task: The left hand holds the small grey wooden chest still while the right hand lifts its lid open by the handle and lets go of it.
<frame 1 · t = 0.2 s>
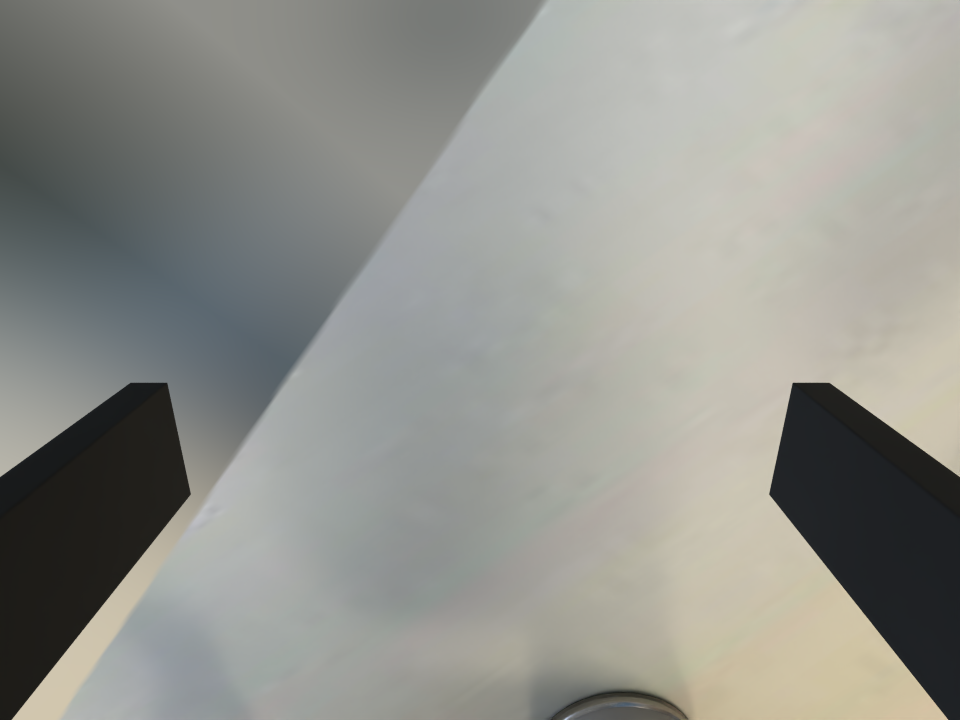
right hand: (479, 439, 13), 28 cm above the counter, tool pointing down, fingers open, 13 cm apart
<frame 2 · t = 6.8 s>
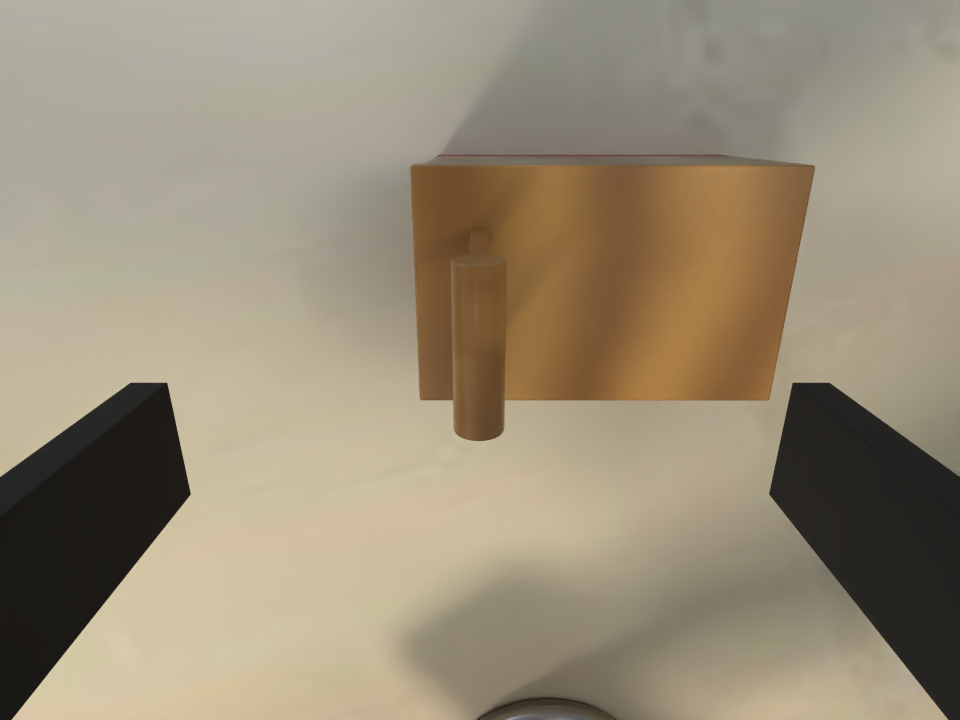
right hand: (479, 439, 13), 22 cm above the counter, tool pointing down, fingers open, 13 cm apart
lid: (621, 315, 21), point 13 cm above the counter, hinge at 0.0°
chest: (573, 247, 33), on the counter
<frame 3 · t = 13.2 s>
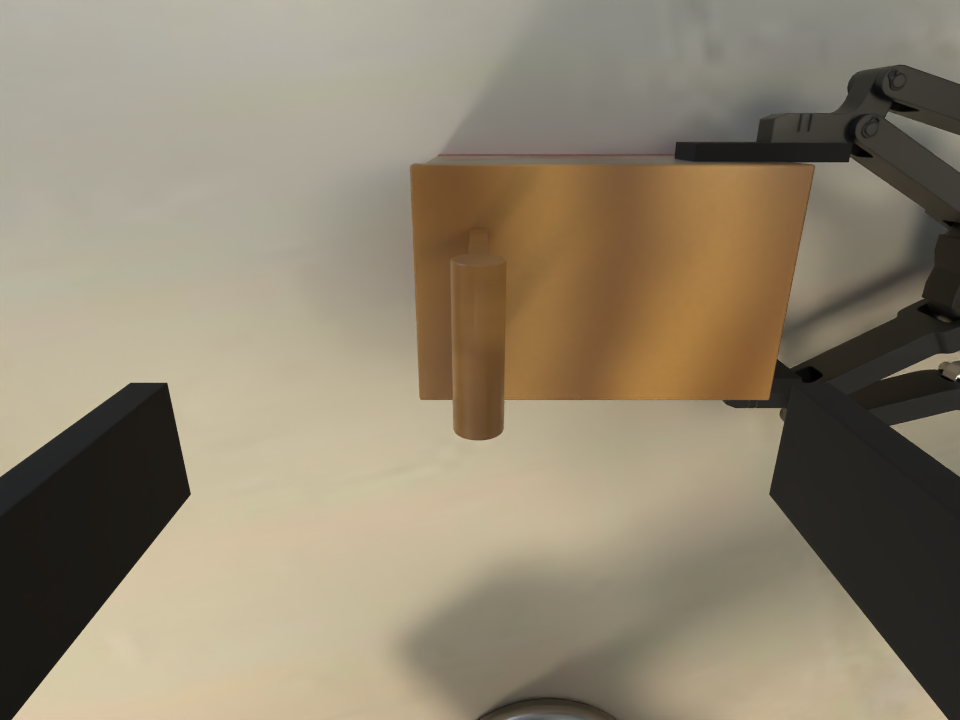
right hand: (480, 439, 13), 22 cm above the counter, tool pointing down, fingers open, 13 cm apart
left hand: (670, 271, 28), fingers closed on chest, 10 cm apart
lid: (621, 315, 21), point 13 cm above the counter, hinge at 0.0°
chest: (573, 247, 33), on the counter, touching left hand
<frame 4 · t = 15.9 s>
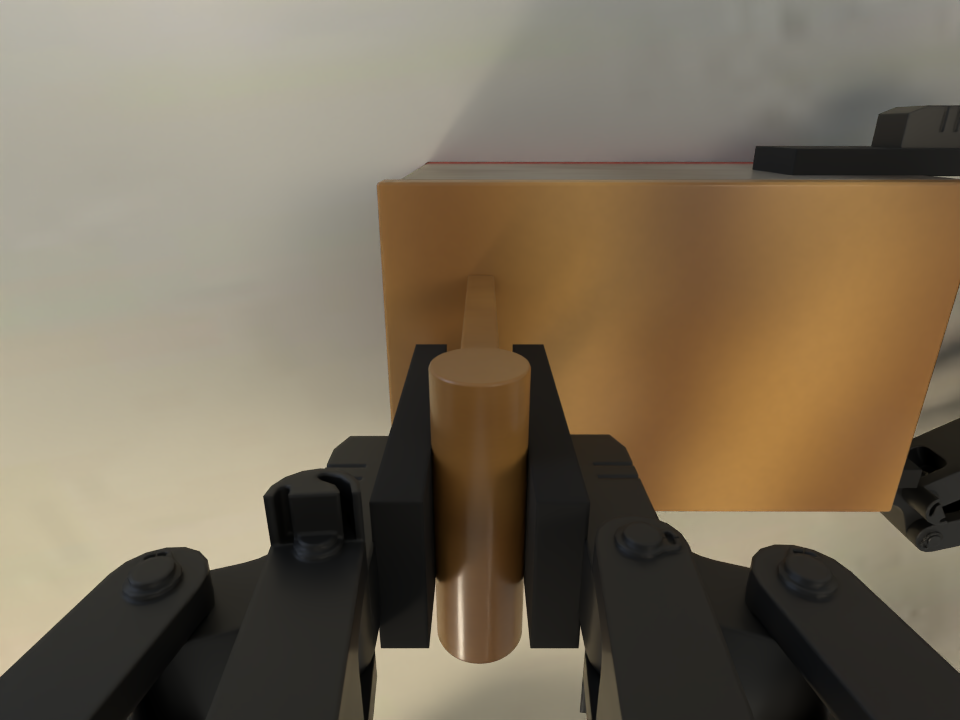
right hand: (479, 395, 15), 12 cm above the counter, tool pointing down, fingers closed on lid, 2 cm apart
lid: (702, 419, 13), point 13 cm above the counter, hinge at -0.1°, touching right hand
chest: (602, 281, 26), on the counter, touching left hand
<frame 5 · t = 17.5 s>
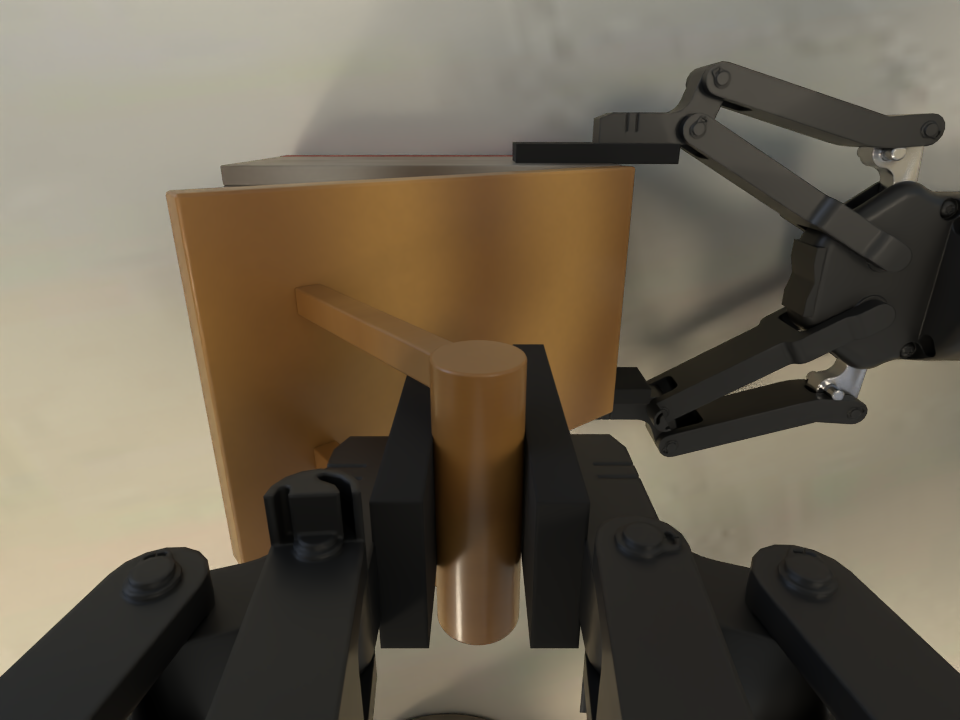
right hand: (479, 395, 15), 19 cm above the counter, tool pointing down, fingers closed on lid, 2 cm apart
left hand: (511, 277, 27), fingers closed on chest, 10 cm apart
lid: (543, 371, 16), point 17 cm above the counter, hinge at 37.6°, touching right hand
chest: (436, 251, 32), on the counter, touching left hand
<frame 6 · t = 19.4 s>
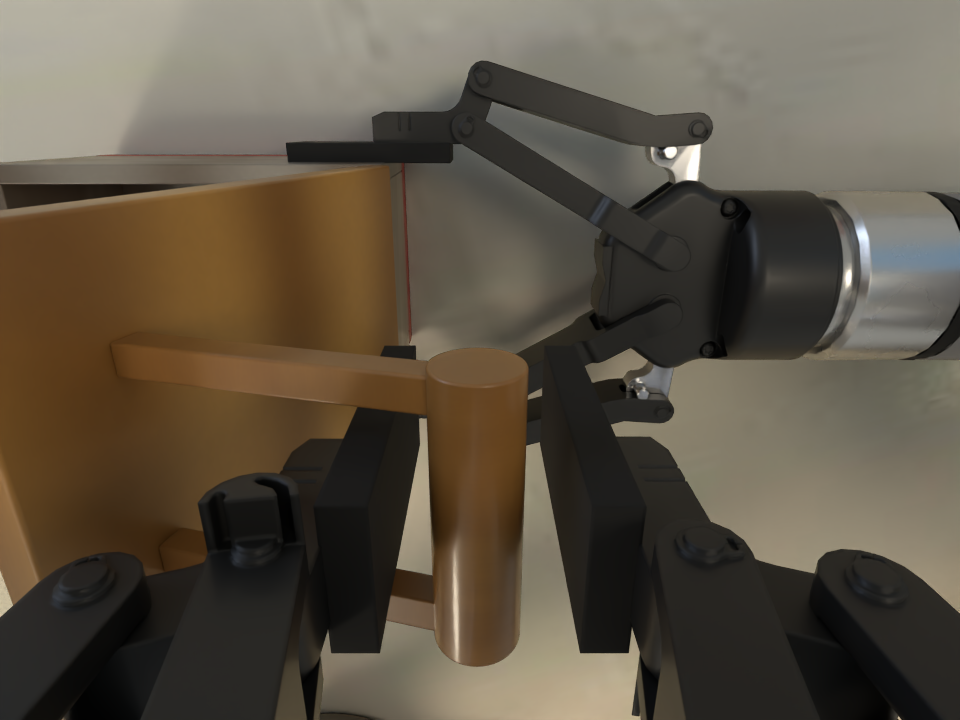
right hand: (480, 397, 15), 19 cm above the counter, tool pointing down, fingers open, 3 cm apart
left hand: (310, 276, 27), fingers closed on chest, 10 cm apart
lid: (402, 378, 16), point 18 cm above the counter, hinge at 73.7°
chest: (270, 251, 32), on the counter, touching left hand
when the left hand's fingers open (6 cm above the counter, at t = 23.3 s): chest stays where it is, on the counter.
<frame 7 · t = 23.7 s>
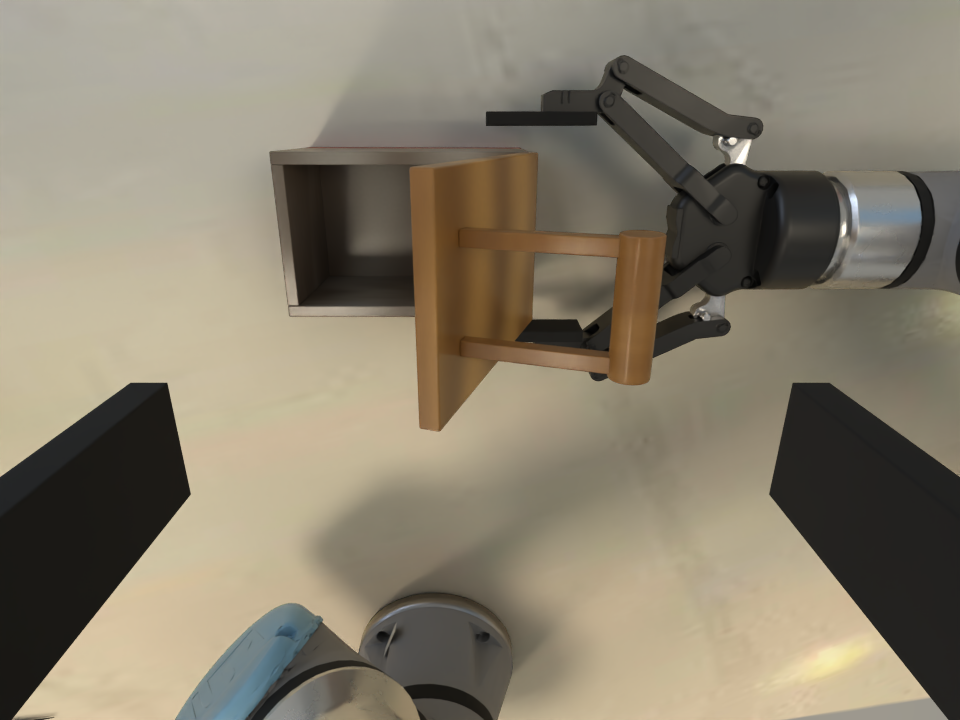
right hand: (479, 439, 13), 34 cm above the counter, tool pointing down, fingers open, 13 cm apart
left hand: (485, 231, 38), fingers open, 13 cm apart
lid: (567, 272, 27), point 18 cm above the counter, hinge at 71.8°
chest: (417, 218, 44), on the counter
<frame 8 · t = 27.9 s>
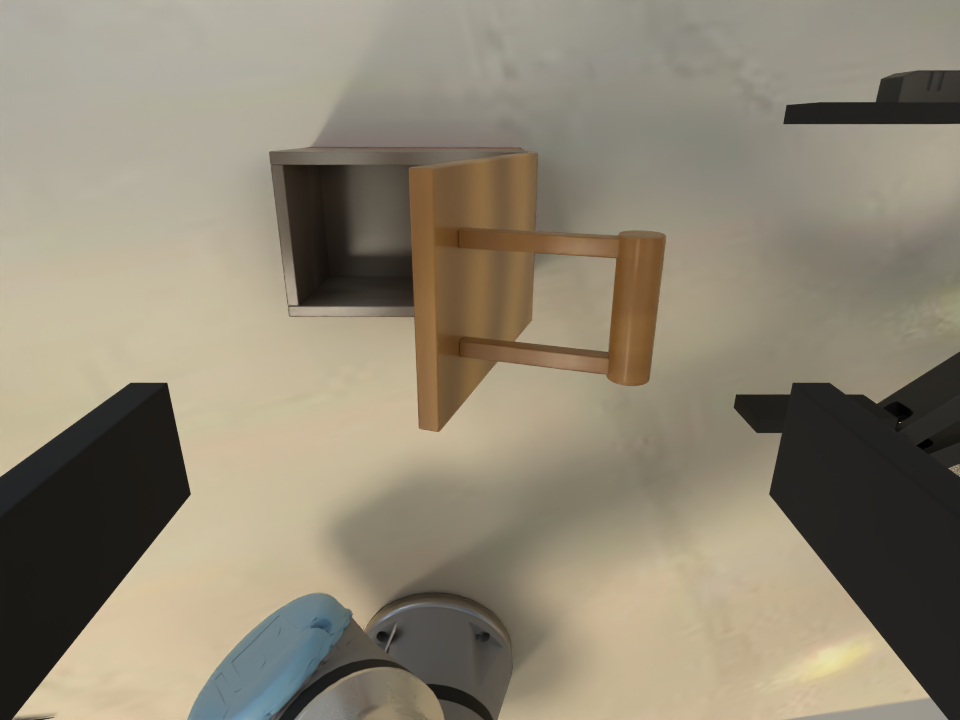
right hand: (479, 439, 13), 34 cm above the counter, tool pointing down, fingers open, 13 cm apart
lid: (567, 272, 27), point 18 cm above the counter, hinge at 71.8°
chest: (417, 218, 44), on the counter
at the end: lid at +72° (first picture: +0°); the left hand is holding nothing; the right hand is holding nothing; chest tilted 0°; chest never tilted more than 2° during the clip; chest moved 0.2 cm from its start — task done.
